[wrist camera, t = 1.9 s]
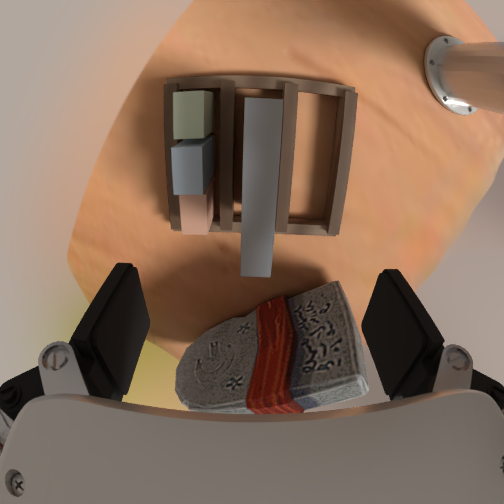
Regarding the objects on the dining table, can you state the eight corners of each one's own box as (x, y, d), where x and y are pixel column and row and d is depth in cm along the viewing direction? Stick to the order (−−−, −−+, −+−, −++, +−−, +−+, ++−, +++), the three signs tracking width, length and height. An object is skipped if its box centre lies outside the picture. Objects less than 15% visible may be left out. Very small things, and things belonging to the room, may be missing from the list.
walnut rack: (349, 87, 28) (358, 87, 26) (332, 229, 39) (337, 239, 36) (171, 79, 28) (164, 78, 25) (176, 224, 38) (171, 234, 36)
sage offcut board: (215, 93, 29) (204, 90, 22) (214, 130, 32) (203, 138, 25) (190, 94, 29) (173, 92, 22) (190, 130, 32) (173, 139, 25)
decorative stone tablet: (364, 377, 25) (157, 414, 35) (374, 398, 28) (185, 430, 38) (338, 267, 41) (185, 324, 51) (350, 295, 44) (205, 344, 54)
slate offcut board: (214, 135, 32) (201, 146, 24) (214, 172, 34) (203, 194, 27) (190, 136, 32) (171, 147, 24) (191, 172, 34) (173, 194, 27)
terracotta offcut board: (214, 177, 35) (206, 194, 29) (215, 211, 37) (207, 234, 31) (191, 177, 35) (178, 194, 29) (193, 210, 37) (182, 234, 31)
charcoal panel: (268, 101, 30) (283, 99, 16) (263, 206, 37) (270, 277, 23) (248, 100, 30) (244, 97, 16) (244, 205, 37) (240, 276, 23)
